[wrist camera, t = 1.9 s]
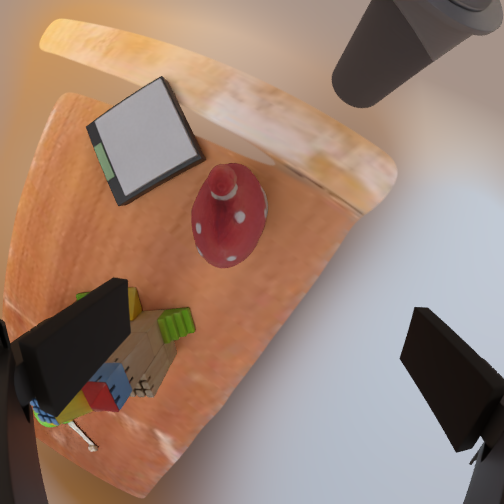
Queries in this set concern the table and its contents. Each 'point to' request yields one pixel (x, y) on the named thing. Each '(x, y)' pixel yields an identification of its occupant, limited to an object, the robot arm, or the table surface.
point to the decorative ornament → (229, 215)
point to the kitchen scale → (144, 141)
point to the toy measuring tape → (72, 425)
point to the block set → (130, 362)
